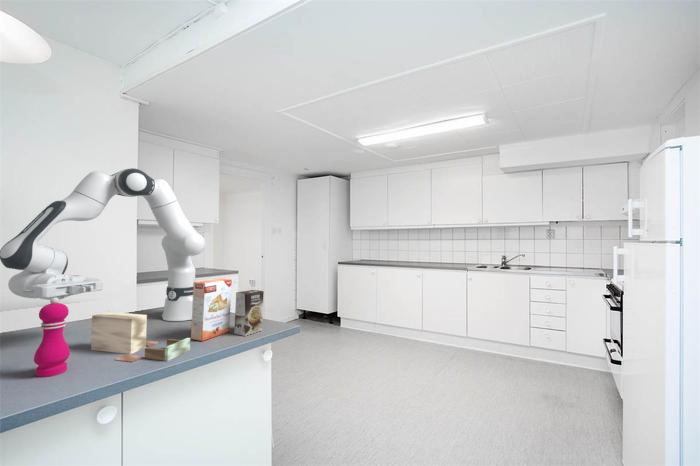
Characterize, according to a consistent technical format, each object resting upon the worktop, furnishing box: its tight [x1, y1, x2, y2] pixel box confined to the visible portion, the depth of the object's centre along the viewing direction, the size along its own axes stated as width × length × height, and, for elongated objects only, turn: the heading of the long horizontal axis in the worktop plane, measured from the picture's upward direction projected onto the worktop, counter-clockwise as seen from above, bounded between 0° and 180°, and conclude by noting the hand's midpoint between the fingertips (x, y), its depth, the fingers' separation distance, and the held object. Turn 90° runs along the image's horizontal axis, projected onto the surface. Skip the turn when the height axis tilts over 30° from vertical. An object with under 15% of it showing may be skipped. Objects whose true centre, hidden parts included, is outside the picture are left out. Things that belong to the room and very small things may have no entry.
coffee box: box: [233, 289, 265, 337], centre depth 131 cm, size 9×6×16 cm
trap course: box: [114, 337, 191, 363], centre depth 107 cm, size 17×21×4 cm
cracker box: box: [190, 278, 233, 342], centre depth 126 cm, size 14×6×21 cm, turn 158°
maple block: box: [90, 311, 148, 355], centre depth 109 cm, size 6×15×11 cm, turn 79°
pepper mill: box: [33, 298, 71, 378], centre depth 90 cm, size 7×7×20 cm
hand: (88, 289), depth 112 cm, fingers closed
